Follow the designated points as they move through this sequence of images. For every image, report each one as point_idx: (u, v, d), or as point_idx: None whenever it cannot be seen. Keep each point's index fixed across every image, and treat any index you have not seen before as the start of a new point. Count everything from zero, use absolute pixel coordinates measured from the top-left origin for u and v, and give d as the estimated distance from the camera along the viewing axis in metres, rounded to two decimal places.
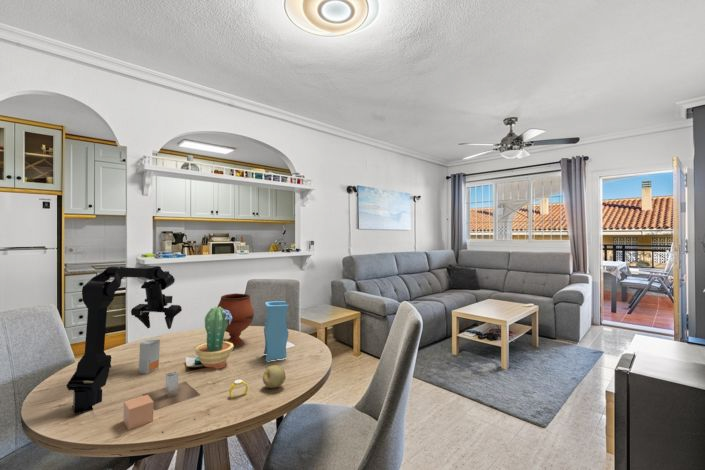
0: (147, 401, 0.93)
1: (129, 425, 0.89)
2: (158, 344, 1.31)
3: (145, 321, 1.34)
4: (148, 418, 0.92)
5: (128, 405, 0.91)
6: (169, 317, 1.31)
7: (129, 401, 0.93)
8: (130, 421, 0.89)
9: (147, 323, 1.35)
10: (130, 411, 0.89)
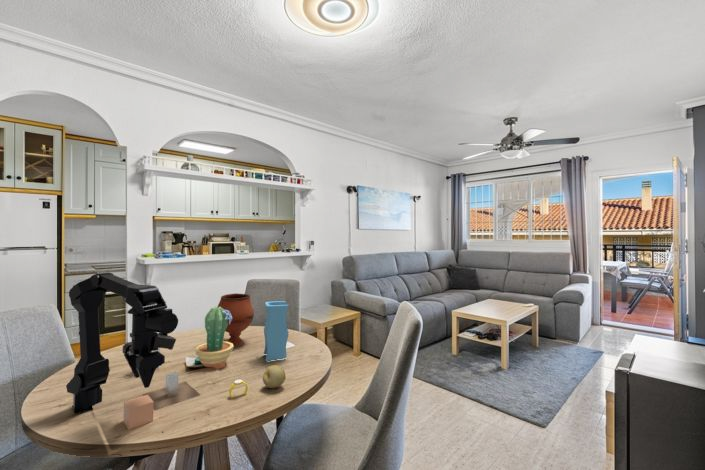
0: (147, 401, 0.93)
1: (129, 425, 0.89)
2: None
3: (132, 366, 0.96)
4: (148, 418, 0.92)
5: (128, 405, 0.91)
6: (138, 368, 0.87)
7: (129, 401, 0.93)
8: (130, 421, 0.89)
9: (135, 370, 0.96)
10: (130, 411, 0.89)
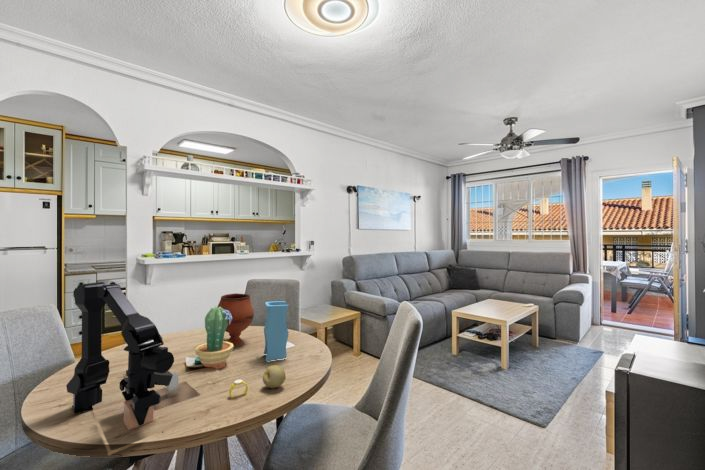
0: None
1: (129, 425, 0.89)
2: None
3: None
4: (148, 418, 0.92)
5: (128, 405, 0.91)
6: (132, 407, 0.87)
7: (129, 401, 0.93)
8: (130, 421, 0.89)
9: None
10: (130, 411, 0.89)
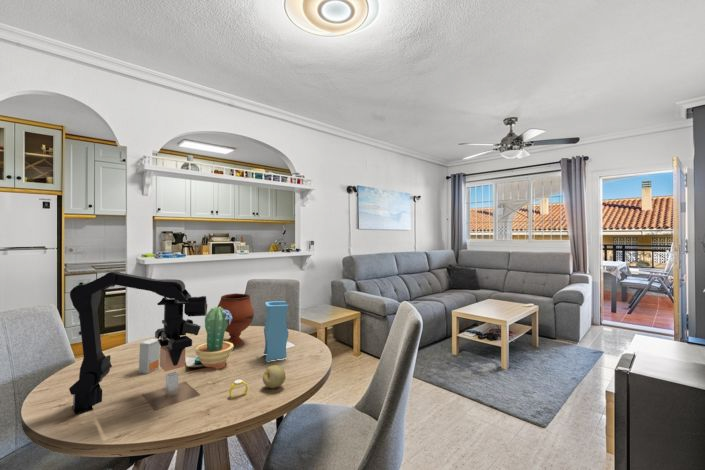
0: None
1: (166, 365, 1.04)
2: (158, 344, 1.31)
3: None
4: (181, 360, 1.08)
5: (164, 349, 1.06)
6: (169, 348, 1.02)
7: (164, 346, 1.08)
8: (167, 361, 1.05)
9: None
10: (167, 353, 1.04)
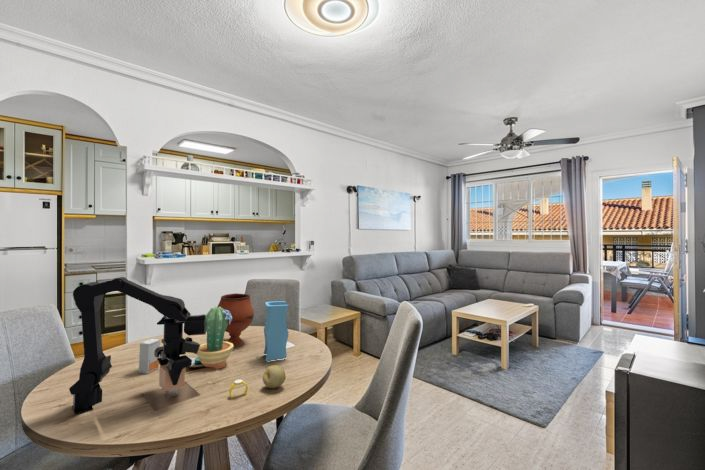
0: None
1: (165, 384, 1.04)
2: (158, 344, 1.31)
3: None
4: (180, 380, 1.08)
5: (164, 368, 1.06)
6: (168, 368, 1.02)
7: (164, 365, 1.09)
8: (166, 381, 1.05)
9: None
10: (166, 372, 1.04)
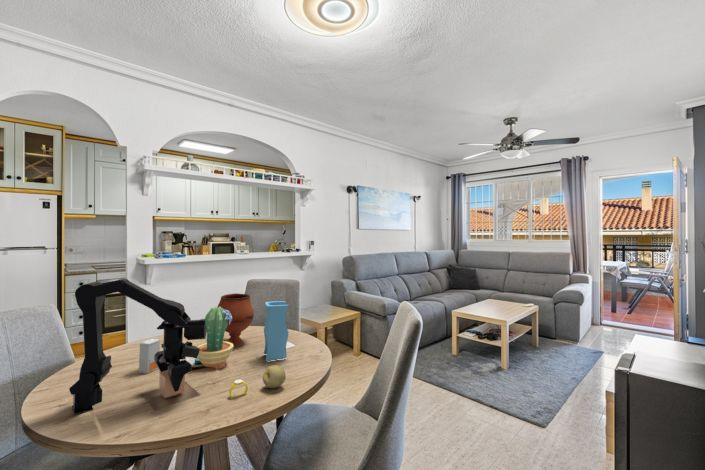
0: None
1: (165, 391, 1.04)
2: (158, 344, 1.31)
3: None
4: (180, 386, 1.08)
5: (164, 375, 1.06)
6: (170, 375, 1.01)
7: (164, 372, 1.09)
8: (166, 388, 1.05)
9: None
10: (166, 379, 1.04)
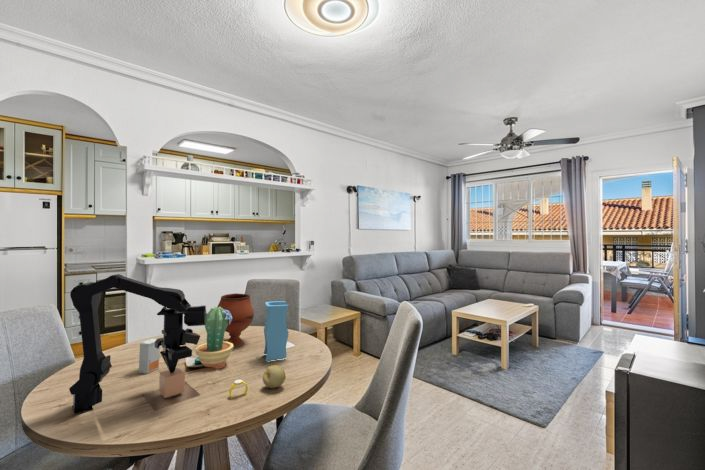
0: (179, 372, 1.09)
1: (165, 391, 1.04)
2: None
3: None
4: (180, 386, 1.08)
5: (164, 375, 1.06)
6: (165, 356, 1.04)
7: (164, 372, 1.09)
8: (166, 388, 1.05)
9: None
10: (166, 379, 1.04)
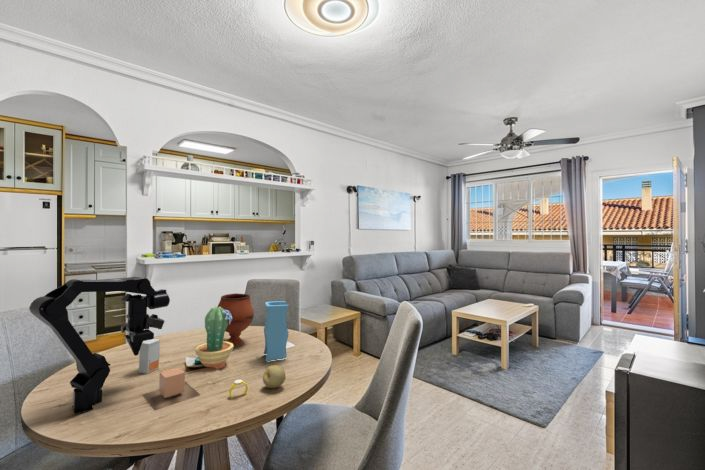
0: (179, 372, 1.09)
1: (165, 391, 1.04)
2: (158, 344, 1.31)
3: None
4: (180, 386, 1.08)
5: (164, 375, 1.06)
6: (128, 339, 1.10)
7: (164, 372, 1.09)
8: (166, 388, 1.05)
9: None
10: (166, 379, 1.04)
